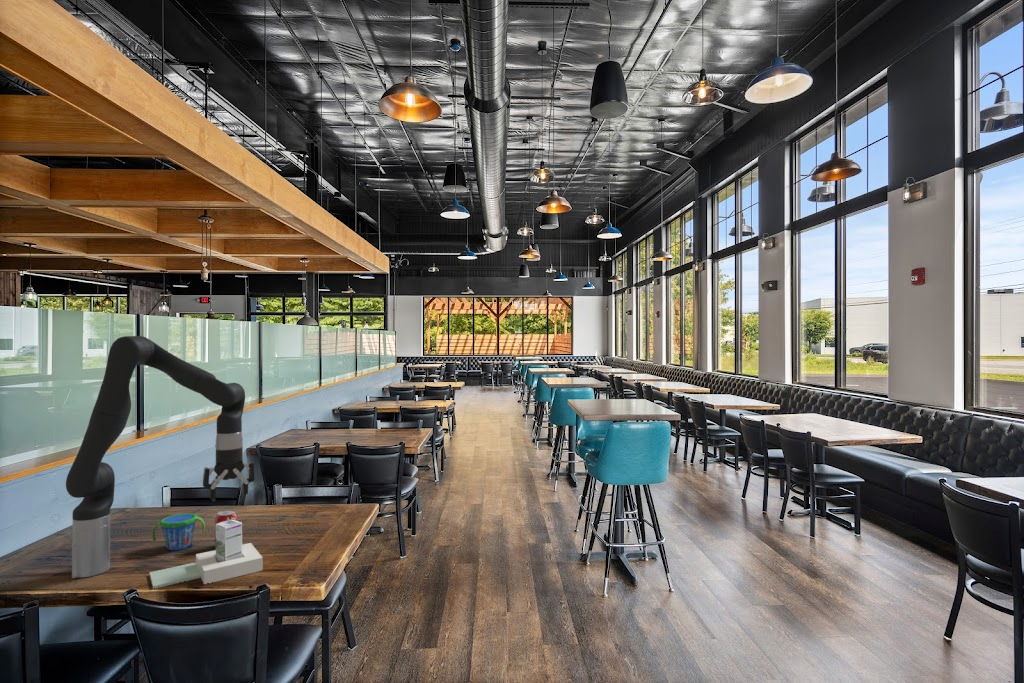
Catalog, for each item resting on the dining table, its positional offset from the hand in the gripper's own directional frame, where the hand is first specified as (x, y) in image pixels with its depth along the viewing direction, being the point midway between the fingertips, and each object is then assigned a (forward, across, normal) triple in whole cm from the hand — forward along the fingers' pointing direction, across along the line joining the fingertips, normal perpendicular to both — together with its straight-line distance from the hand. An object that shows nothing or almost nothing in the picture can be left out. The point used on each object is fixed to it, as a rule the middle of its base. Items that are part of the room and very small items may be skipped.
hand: (229, 498), depth 167 cm
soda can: (+22, +3, +21) cm, 31 cm away
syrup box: (+22, 0, 0) cm, 22 cm away
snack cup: (+22, -10, +31) cm, 39 cm away
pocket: (+22, 0, 0) cm, 22 cm away
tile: (+22, -14, +4) cm, 26 cm away
